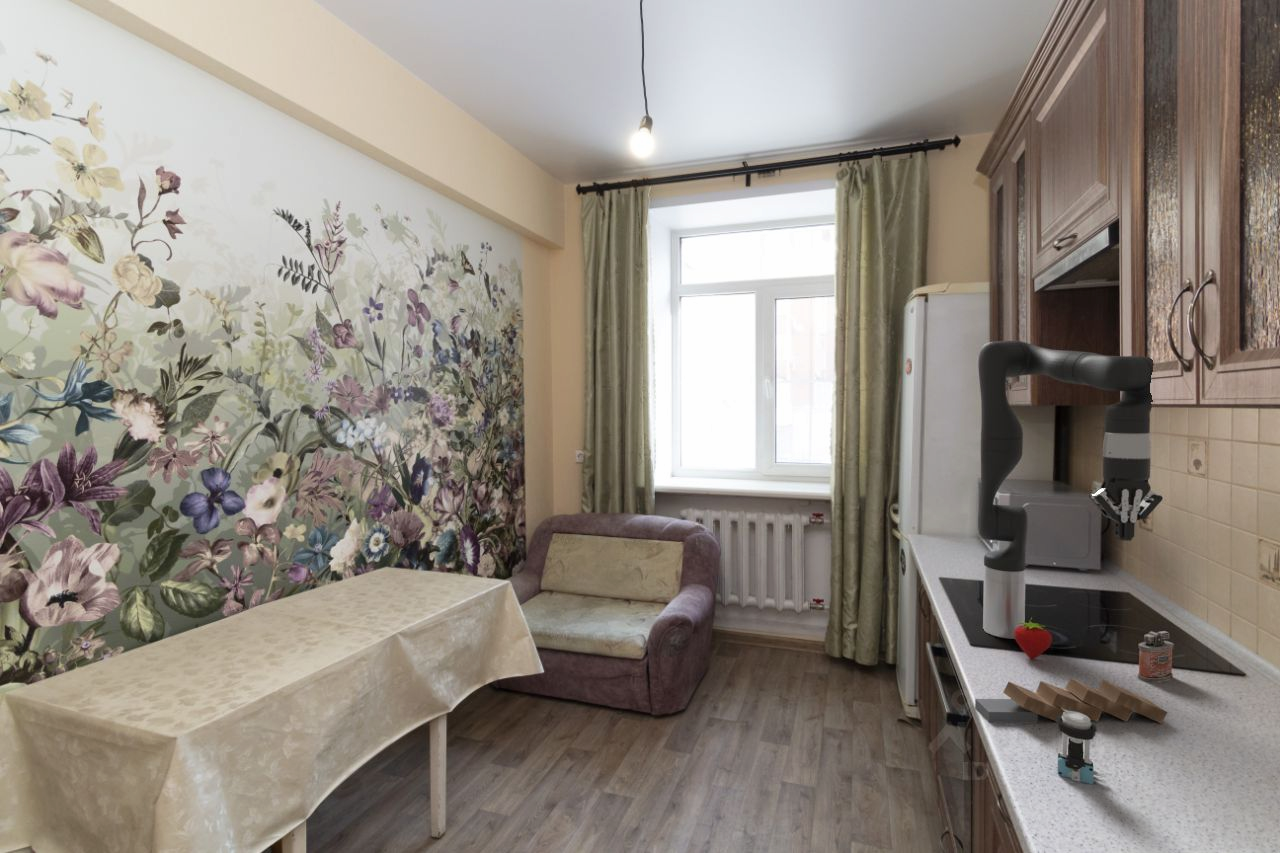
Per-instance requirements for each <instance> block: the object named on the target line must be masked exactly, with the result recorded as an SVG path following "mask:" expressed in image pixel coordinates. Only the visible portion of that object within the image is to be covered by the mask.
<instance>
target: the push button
mask: <svg viewBox="0 0 1280 853" xmlns="http://www.w3.org/2000/svg"><path fill="white" fill-rule="evenodd" d="M1064 711H1065V712H1063V714H1060V715H1058V716H1057V717H1056V721H1055V722H1056V723H1057V728H1058V730H1059V732H1061V733H1062V742H1061V744H1062V746H1061V748H1062V750H1061V751H1060V752H1059V753H1057V774H1058V775H1059V776H1061V777H1064V778H1065V777H1066V778H1068V779H1071V780H1072V781H1076V782H1083V783H1087V784H1090V785H1093V784H1094V781H1095V782H1101V783H1104V784H1107V780H1106V778H1107V774H1104V773H1103V772H1098V771H1097V770H1096V771H1095V770H1094V763H1093V761H1092V759H1090V747H1091V746H1090V744H1091V743H1090V742H1091V740H1093V739H1094V738H1095V736H1096V732H1097V730H1098V727H1097V725H1096V724H1095V722H1093V721H1092V720H1091V719H1090V718H1089V717H1087V716H1086V715H1084V714H1082V713H1079V712H1075V711H1067V710H1064ZM1099 777H1103V778H1105V779H1103V778H1099Z"/></svg>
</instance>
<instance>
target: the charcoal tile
mask: <svg viewBox="0 0 1280 853" xmlns="http://www.w3.org/2000/svg"><path fill="white" fill-rule="evenodd" d="M974 705H975V707H974V709H975V710H976V711H977V712H978V714H980V715H981V716H982V717H983V718H984V719H985V720H986V721H987V722H988V723H1038V719H1039V717H1038V715H1039V714H1037V713H1035V712H1032V711H1030V710H1027V709H1025V708H1023V707H1021V706H1020V705H1019V704H1017V703H1016V702H1015V701H1014V700H1012V699H1011V698H974Z"/></svg>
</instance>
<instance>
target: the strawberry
mask: <svg viewBox="0 0 1280 853" xmlns="http://www.w3.org/2000/svg"><path fill="white" fill-rule="evenodd" d="M1032 619H1033V617H1031V618H1030V620H1029V622H1025V623H1021V622H1019V623H1020V624H1024V626H1018V627H1017V628H1015V631H1014V636H1015V639H1014V640H1015V642H1016V643H1017V644H1018V646H1019V647H1020V649H1021V650H1022V651H1023V652H1024V653H1025V654H1026V656H1027V657H1028V658H1029V659H1037V657H1039V656H1040V655H1042V654H1043V653H1044V652H1045V651H1046V650H1048V649H1049V648H1050V646H1051V644H1052V642H1053V638H1052V634H1051V632H1049V630H1047V629H1044V628H1045V627H1046V625H1041V624H1039V623H1035V622H1032V621H1031V620H1032Z"/></svg>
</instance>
